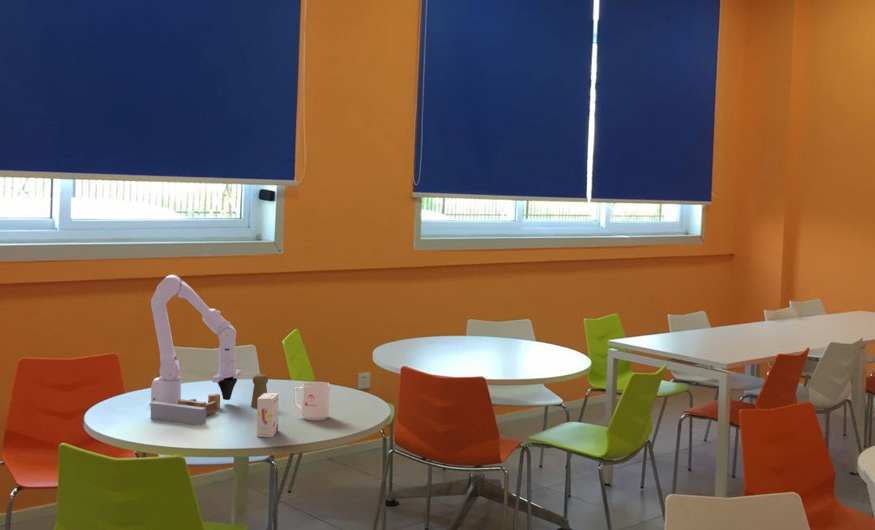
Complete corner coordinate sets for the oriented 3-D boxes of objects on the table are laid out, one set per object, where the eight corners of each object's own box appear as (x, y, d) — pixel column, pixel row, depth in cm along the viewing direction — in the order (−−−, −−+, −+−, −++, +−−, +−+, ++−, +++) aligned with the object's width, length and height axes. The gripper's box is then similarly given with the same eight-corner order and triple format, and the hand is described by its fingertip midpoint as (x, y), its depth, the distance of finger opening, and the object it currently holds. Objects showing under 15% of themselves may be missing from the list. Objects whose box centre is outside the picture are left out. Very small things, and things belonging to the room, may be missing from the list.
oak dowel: (205, 408, 302) (205, 395, 302) (212, 406, 306) (212, 393, 306) (215, 410, 301) (215, 396, 301) (222, 407, 305) (222, 394, 304)
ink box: (262, 429, 277) (263, 392, 276) (278, 430, 277) (279, 392, 276) (256, 437, 269) (256, 398, 268) (272, 437, 269) (273, 398, 268)
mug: (332, 415, 298) (333, 382, 297) (324, 422, 289) (325, 388, 288) (298, 413, 300) (298, 380, 299) (289, 419, 291) (289, 385, 291)
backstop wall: (150, 418, 287) (150, 402, 287) (155, 416, 289) (155, 401, 289) (201, 425, 281) (201, 409, 280) (205, 423, 283) (205, 407, 282)
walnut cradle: (177, 414, 292) (177, 400, 292) (192, 409, 300) (192, 395, 300) (202, 417, 289) (202, 403, 289) (216, 412, 297) (216, 398, 296)
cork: (264, 408, 305) (265, 376, 304) (248, 407, 306) (248, 375, 305) (271, 405, 311) (272, 373, 310) (255, 403, 312) (255, 372, 311)
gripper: (225, 364, 301) (224, 404, 302) (248, 358, 315) (248, 396, 316) (207, 363, 304) (206, 402, 305) (231, 356, 317) (230, 394, 318)
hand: (226, 399), depth 310 cm, fingers closed
